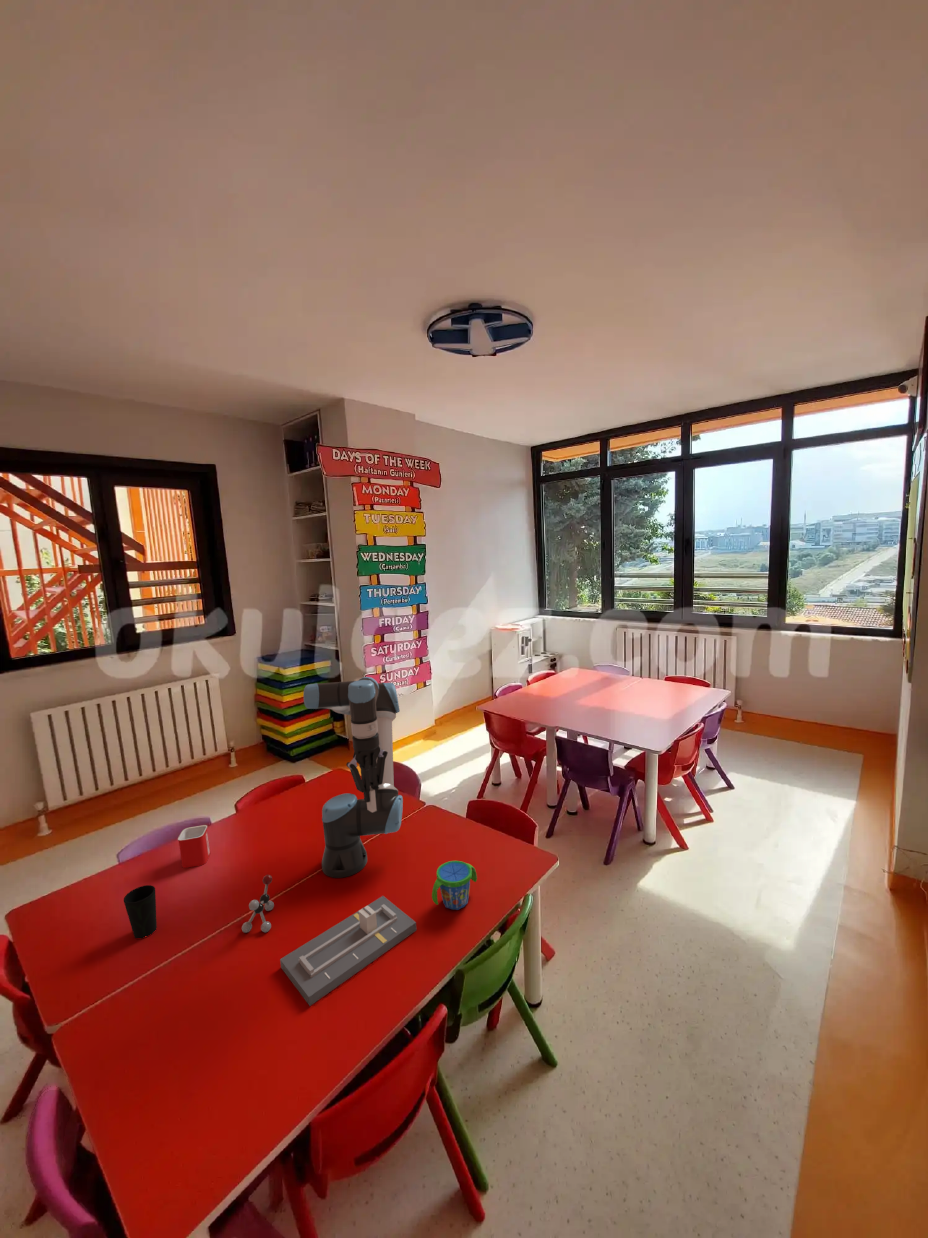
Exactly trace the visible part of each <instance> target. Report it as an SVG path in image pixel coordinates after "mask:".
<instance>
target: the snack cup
mask: <svg viewBox="0 0 928 1238" xmlns="http://www.w3.org/2000/svg"><path fill="white" fill-rule="evenodd" d="M471 880H472V881H473V882H475V883H476V882H477V880H478V874H477V871H476V868H475V867H474V866H473V865H472V864H470V863H467V862H464V861H460V860H450V861H447V862H444V863H442V864H441V865H439V866H438V867H437V870H436V880H435V882H434V884H433V887H432V891H431V899H432V902H433V903H434V904H435V905H437V906H438V905H439V902H438V900H439V899H438V891H439V889H440V894H441V899H442V901H443V902H442V903H443V905H444V907H445V908H446V909H450V910H453V911H455V910H456V911H458V910H460V909H463V908H464V907H466V905H467V904H468V903H469V897H470V889H471Z"/></svg>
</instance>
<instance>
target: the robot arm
mask: <svg viewBox="0 0 928 1238" xmlns="http://www.w3.org/2000/svg"><path fill="white" fill-rule="evenodd" d="M303 705H304V707H305V708H306V709H308V710H312V709H313V710H314V709H315V710H317V709H318V710H319V709H328V710H332V711H333V712H335V713H337V714H342V715H347V716H350V726H351V735H352V738H351V740H352V749H353V755H352V759H351V760H350V762H349V761H348V762H346V767H347V768H348V769H349V771H350V773H351V776H352V779H353V782H354V786H355V787H356V790H357V791H359V792H361V793H363V798H359V799H358V797H357V795H356V794H354V793H347V792H346V793H342V794H338V795H336V796H333V797H331V798H330V799H329V800H326V802H325V803H324V804H323V806H322V809H321V815H322V816H321V821H322V827H323V837H324V845H325V846H324V850H323V854H322V860H321V869H322V872H323V874H324V875H325V876H327V877H330V878H336V879H338V878H339V879H340V878H347V877H350V876H353V875H355V874H357V873H359V872H361V871H362V870H363V869H364V868H365V866H366V865H367V863H368V853H367V850H366V848H365V846H364V843H363V842H362V839H361V837H362V836H364V837H366V836H372V835H381V834H385V835H387V834H390V833H391V834H392V833H397V832H398V831H399V830H400V829H401V826H402V820H403V819H402V818H403V809H404V807H403V806H404V805H403V803H404V799H403V796H402V795H401V794H399V790H398V788H396V787H395V785H394V784H395V783H394V779H395V777H394V751H393V750H394V749H393V746H394V745H393V744H394V743H393V721H394V720H395V719H396V717H397V714H398V713H400V704H399V699H398V693H397V688H396V685H395V684H394V682H379V683H378V682H377V680H376V679H375V678H373V677H371V676H363V677H361V678H359V679H357V680H347V681H346V680H345V681H339V682H338V681H337V682H322V683H317V682H315V683H310V684H309V683H308V684H307V685H305V687H304V689H303ZM358 765H359V769H360V771H359V769H358Z"/></svg>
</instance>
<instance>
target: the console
mask: <svg viewBox="0 0 928 1238" xmlns="http://www.w3.org/2000/svg"><path fill="white" fill-rule="evenodd" d="M368 906H369V907H370V908H372V909H373V910H374V911H375V912H376V920H377V929H375V930H374V931H372V932H371V933H369V934H367V933H365V932H364V931H363V930H362V929H361V928H360V922H359V910H357V911H356V912H354V913H353V914H351V915H349V916H348V917H346V918H345V919H343V920H342V921H340V922H339V923H337V924H335V925H333V926H331V927H330V928H328V929H327V930H325V931H323V932H322V933H320V934H319V935H317V936H316V937H314V938H312V939H311V940H309V941H307V942H306V943H304V944H303V945H300V946H299V947H298V948H296V949H294V950H293V951H291V952H289V953H287V954H286V955H285V956H283V957H282V958H280V959H279V962H280V969H282V971H283V972H284V974H285V975H286V976H287V978H288V979H289V980H290V982H291V983H292V984H293V986H294V987H295V988H296V990H297V991H298V992H299V994H300V995H301V997H302V998H303V999H304V1000H305V1002H306V1003H307V1004H308V1005H309V1007H311V1006H312V1005H314V1004H316V1003H317V1002H318V1001H319V1000H320V999H322V998H323V997H325V996H326V995H328V994H329V993H330V992H332V991H333V990H334V989H336V988H337V987H339V986H340V985H342V984H343V983H344V982H346V981H348V980H349V979H350V978H352V977H354V975H355V974H357V973H358V972H360V971H362V970H363V969H364V968H365V967H367V966H368V965H370V964H371V963H372V962H374V961H376V960H377V959H379V957H381V956H382V955H384V954H386V952H388V951H389V950H391V949H392V948H394V947H395V946H396V945H397V944H399V943H401V942H402V941H404V940H405V939H406V938H407V937H409V936H410V935H412V934H413V933H415V932H416V931H417V930H418V929H417V922H416V921H415V920H414V919H413V918H411V917H410V916H409V915H408V914H406V913H405V912H404V911H402V909H400V908H399V907H397V905H395V904H394V903H393V902H392V901H390V900H389V899H388V898H387V897H385V896H384V895H381V896H380V897H378V898H377V899H375V900H374V901H372V902H371V903H369V904H368Z"/></svg>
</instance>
